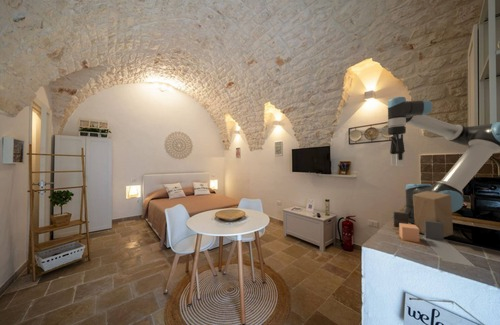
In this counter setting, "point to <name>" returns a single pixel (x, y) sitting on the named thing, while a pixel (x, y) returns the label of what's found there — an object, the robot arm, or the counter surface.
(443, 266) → the counter surface
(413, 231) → the terracotta cube
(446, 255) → the grey l-shaped block
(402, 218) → the walnut strip
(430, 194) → the wooden block
